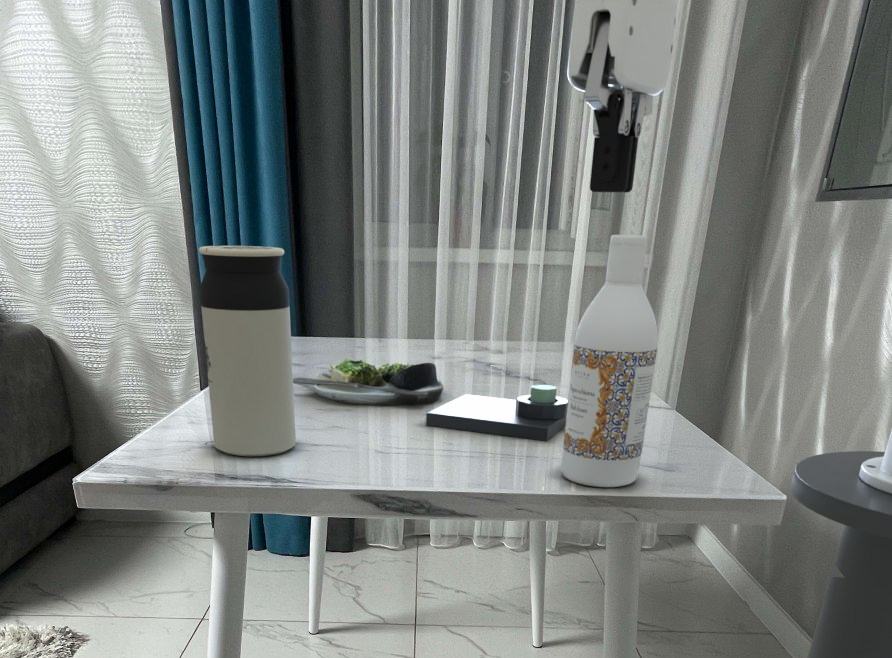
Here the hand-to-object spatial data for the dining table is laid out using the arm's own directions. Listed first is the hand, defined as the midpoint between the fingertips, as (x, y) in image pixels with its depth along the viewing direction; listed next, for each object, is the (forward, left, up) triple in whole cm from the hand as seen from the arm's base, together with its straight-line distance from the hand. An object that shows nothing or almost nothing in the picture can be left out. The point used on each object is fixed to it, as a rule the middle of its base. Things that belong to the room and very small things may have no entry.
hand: (610, 191), depth 69 cm
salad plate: (+31, -18, -23) cm, 43 cm away
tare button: (+7, -11, -21) cm, 25 cm away
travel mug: (+30, +12, -23) cm, 40 cm away
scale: (+12, -11, -23) cm, 28 cm away
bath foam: (-3, +5, -23) cm, 24 cm away
